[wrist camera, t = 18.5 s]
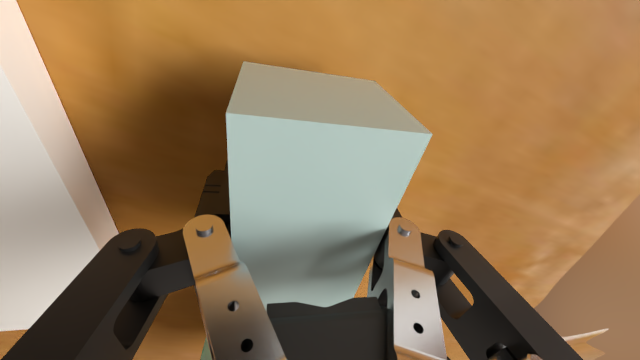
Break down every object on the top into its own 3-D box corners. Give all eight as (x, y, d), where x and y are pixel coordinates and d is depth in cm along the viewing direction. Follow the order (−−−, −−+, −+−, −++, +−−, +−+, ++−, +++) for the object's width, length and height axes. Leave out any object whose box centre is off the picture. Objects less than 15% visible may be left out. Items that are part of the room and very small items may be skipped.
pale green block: (329, 234, 17) (347, 309, 13) (243, 234, 16) (234, 317, 12) (374, 80, 11) (432, 134, 7) (243, 61, 10) (225, 112, 6)
